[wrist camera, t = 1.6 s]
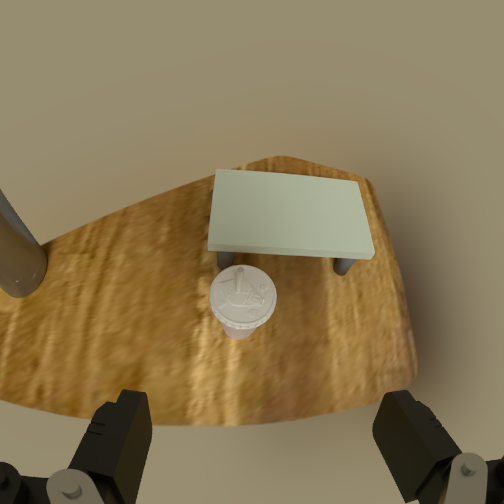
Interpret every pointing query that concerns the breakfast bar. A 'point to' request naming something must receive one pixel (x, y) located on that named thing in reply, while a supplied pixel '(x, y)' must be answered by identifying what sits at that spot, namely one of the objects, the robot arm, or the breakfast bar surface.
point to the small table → (288, 217)
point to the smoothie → (242, 299)
